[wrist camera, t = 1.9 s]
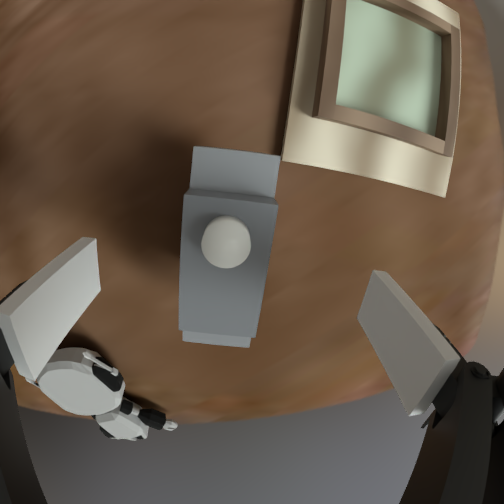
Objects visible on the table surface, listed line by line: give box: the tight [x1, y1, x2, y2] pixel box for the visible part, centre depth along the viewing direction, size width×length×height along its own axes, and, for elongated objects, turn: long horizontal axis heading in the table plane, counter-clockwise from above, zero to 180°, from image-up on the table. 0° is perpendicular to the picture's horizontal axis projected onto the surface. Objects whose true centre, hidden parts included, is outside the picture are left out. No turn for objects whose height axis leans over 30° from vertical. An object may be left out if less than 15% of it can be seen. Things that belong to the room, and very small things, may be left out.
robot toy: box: [25, 347, 177, 441], centre depth 25 cm, size 12×4×15 cm
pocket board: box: [280, 0, 461, 198], centre depth 15 cm, size 14×18×2 cm
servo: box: [179, 146, 281, 347], centre depth 17 cm, size 4×11×9 cm, turn 172°
